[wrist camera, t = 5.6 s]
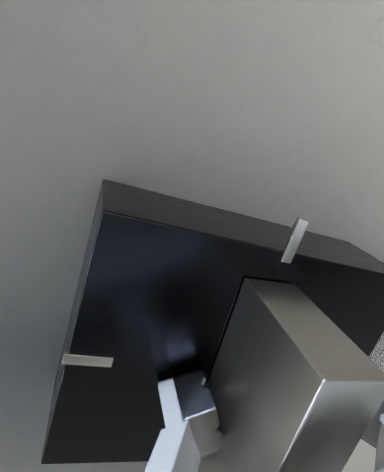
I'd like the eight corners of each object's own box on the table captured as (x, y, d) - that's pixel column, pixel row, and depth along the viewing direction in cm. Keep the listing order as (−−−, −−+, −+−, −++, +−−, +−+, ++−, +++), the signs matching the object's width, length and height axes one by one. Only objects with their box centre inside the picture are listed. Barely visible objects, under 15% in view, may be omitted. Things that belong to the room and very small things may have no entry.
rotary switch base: (361, 220, 15) (436, 255, 11) (266, 408, 18) (303, 478, 15) (107, 145, 11) (108, 166, 8) (47, 401, 14) (30, 492, 11)
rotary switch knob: (244, 276, 10) (332, 390, 6) (294, 283, 10) (405, 391, 7) (185, 444, 12) (222, 604, 8) (229, 442, 13) (283, 591, 9)
